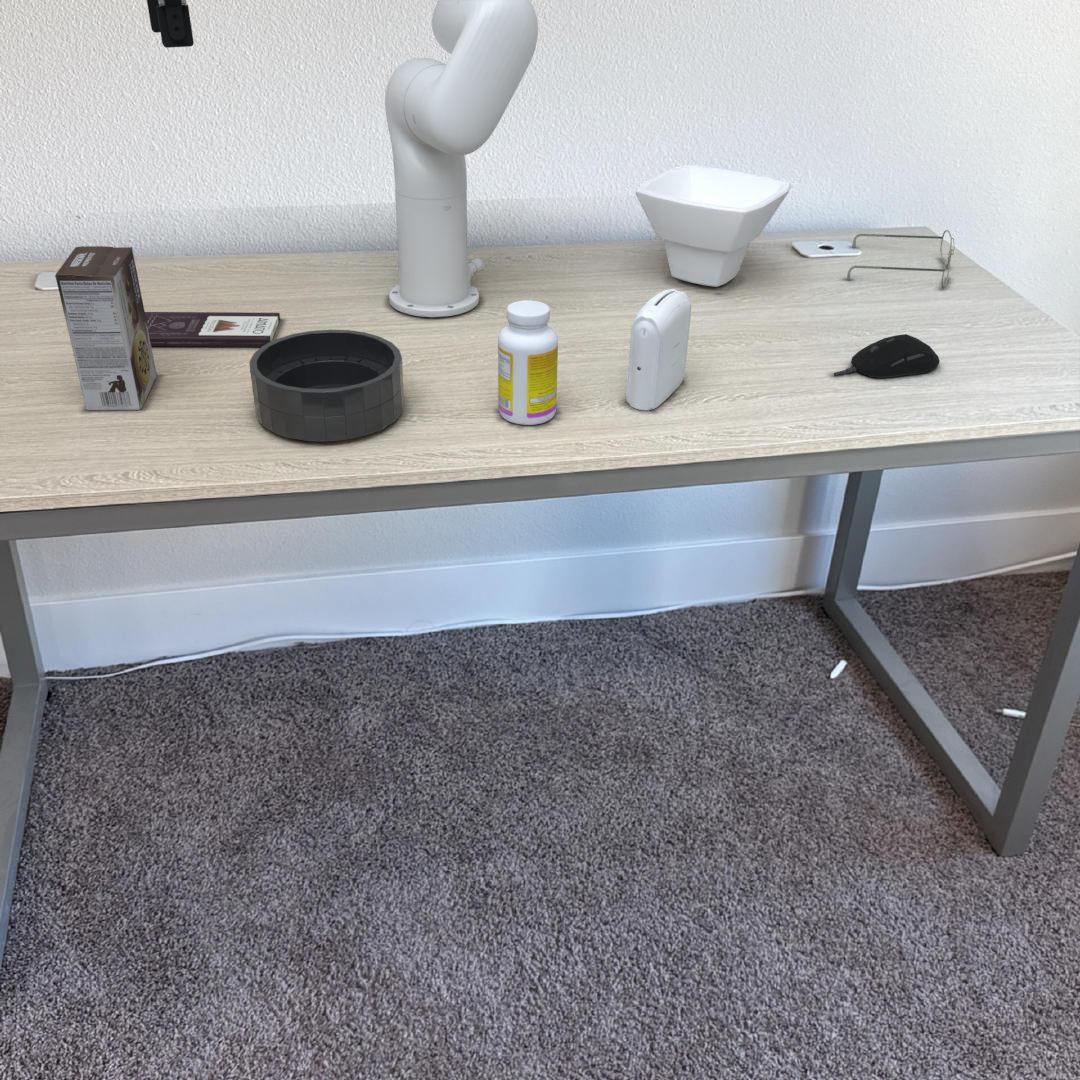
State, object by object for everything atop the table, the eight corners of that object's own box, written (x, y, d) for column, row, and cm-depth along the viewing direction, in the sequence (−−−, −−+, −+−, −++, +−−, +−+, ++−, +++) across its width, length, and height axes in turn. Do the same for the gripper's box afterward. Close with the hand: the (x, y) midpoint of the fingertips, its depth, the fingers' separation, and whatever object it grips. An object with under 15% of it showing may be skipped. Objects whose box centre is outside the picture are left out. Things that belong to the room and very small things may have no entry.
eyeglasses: (949, 292, 161) (957, 259, 158) (846, 280, 164) (852, 247, 162) (947, 257, 174) (954, 226, 171) (851, 247, 177) (857, 216, 175)
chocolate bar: (142, 311, 145) (279, 312, 146) (144, 318, 145) (280, 319, 146) (124, 339, 137) (268, 339, 138) (125, 346, 138) (269, 346, 139)
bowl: (787, 274, 166) (801, 181, 158) (735, 313, 152) (748, 214, 144) (677, 250, 174) (685, 160, 166) (618, 285, 160) (624, 190, 153)
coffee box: (103, 377, 131) (75, 245, 122) (158, 376, 131) (134, 244, 122) (83, 411, 123) (51, 273, 114) (142, 410, 124) (115, 273, 115)
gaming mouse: (820, 365, 138) (825, 336, 136) (917, 351, 143) (924, 322, 141) (848, 386, 134) (854, 356, 131) (947, 371, 138) (955, 341, 136)
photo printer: (654, 415, 126) (663, 313, 119) (620, 406, 128) (627, 305, 121) (688, 382, 133) (698, 285, 127) (656, 374, 135) (665, 278, 128)
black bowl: (323, 368, 134) (318, 318, 131) (432, 402, 127) (430, 350, 124) (225, 420, 122) (217, 367, 119) (340, 461, 115) (335, 405, 112)
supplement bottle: (563, 406, 127) (567, 301, 120) (545, 431, 122) (548, 323, 115) (509, 397, 129) (510, 293, 122) (489, 421, 124) (489, 314, 117)
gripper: (194, -140, 106) (219, 51, 115) (170, -147, 119) (195, 25, 129) (113, -140, 103) (146, 54, 113) (98, -147, 117) (129, 27, 126)
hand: (172, 38), depth 121 cm, fingers open, 9 cm apart
